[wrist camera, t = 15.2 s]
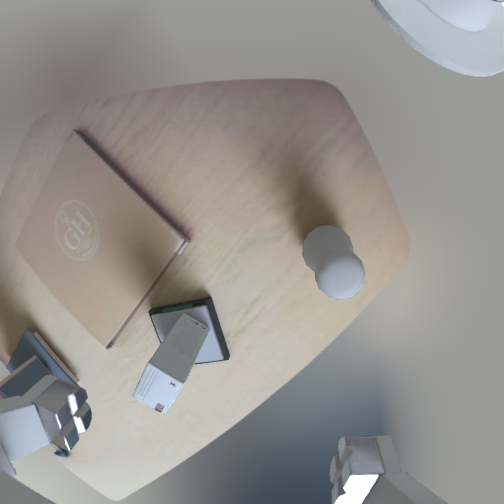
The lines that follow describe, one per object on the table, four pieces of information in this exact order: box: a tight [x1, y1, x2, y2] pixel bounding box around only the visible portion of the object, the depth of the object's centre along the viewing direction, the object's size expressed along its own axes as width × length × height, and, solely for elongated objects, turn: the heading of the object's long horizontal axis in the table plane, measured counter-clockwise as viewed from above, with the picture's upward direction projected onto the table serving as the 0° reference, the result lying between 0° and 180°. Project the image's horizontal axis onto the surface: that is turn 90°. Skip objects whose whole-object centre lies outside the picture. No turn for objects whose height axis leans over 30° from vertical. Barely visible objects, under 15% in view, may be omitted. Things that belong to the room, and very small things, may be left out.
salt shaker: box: [302, 225, 365, 300], centre depth 32 cm, size 6×6×13 cm
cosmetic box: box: [133, 313, 210, 414], centre depth 35 cm, size 6×4×12 cm
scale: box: [149, 297, 230, 364], centre depth 42 cm, size 9×9×2 cm
